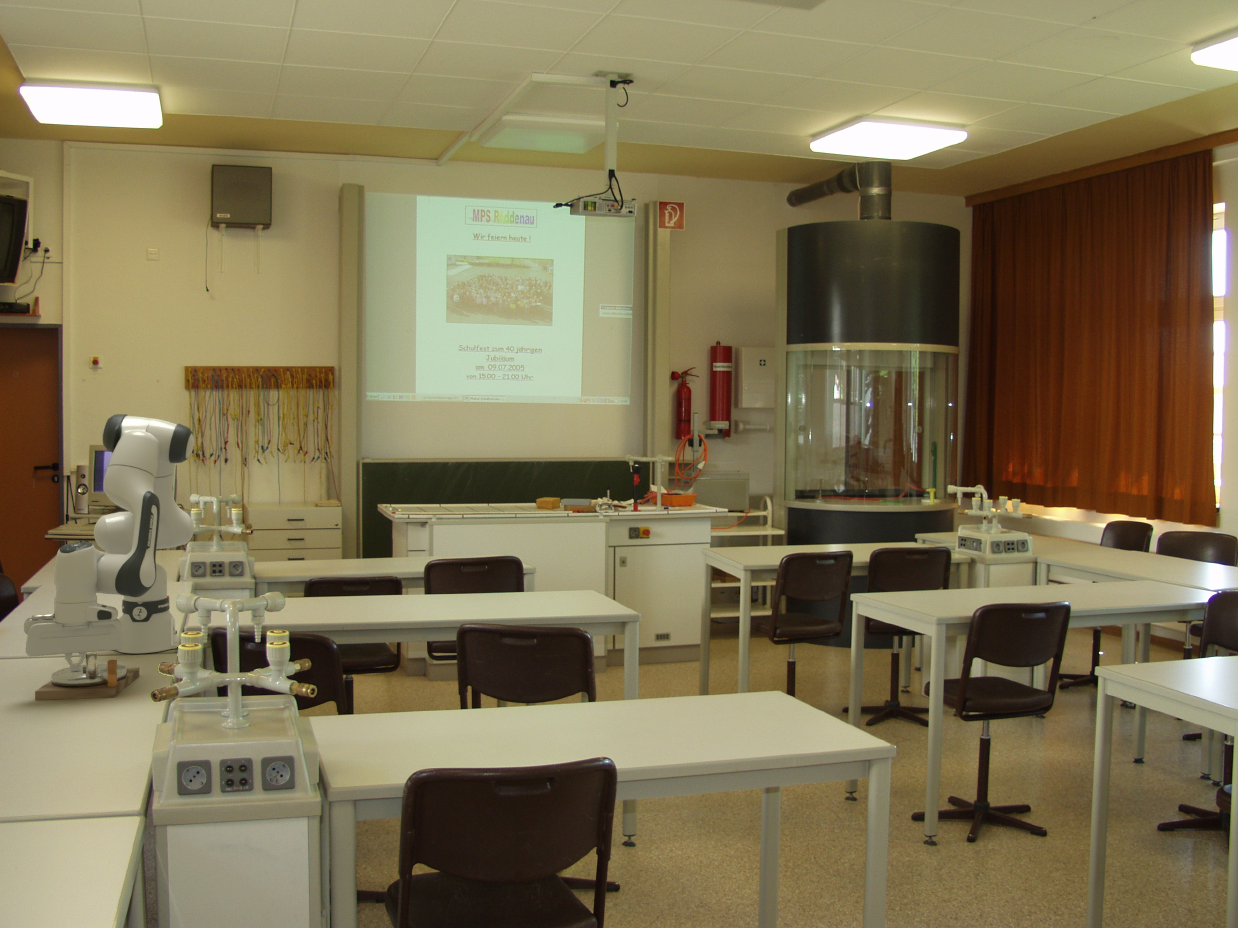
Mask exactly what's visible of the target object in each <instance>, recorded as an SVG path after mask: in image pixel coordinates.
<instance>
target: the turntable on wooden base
mask: <svg viewBox="0 0 1238 928" xmlns="http://www.w3.org/2000/svg"><path fill="white" fill-rule="evenodd" d="M106 664H108V683H105V684H99V685H91V686H76V687H70V686H59V685H55V684H53V683H52V679H51V680H50V681H48V682H47V683H45V684H44V685H42V686H41V687H40V688H38V689H36V690H35V691H34V700H35V701H41V700H42V701H44V700H66V699H67V700H71V699H72V700H73V699H102V698H115V697H116V696H118V695H119V694H120V693H122V691H123V690H125V689H126V688H127V687H128V686H129V685H131V684H132V683H133V682H134V681H135V680H136V679H137V678H138V677H140V675H141V674H140V667H126V668H127V675H126V676H125V677H124V678H122V679H120V680H117V664H118V660H117V659H109V660H108V661H107V663H106Z"/></svg>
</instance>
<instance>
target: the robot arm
mask: <svg viewBox="0 0 1238 928" xmlns="http://www.w3.org/2000/svg"><path fill="white" fill-rule="evenodd" d="M102 428H103V429H102V432H101V434H102V435H101V437H102V445H103V446H104V448H105V449H106V450H107V451H109V452H111V453H112V454H111V457H110V460H109V463H108V465H107V468H106V472H105V474H104V478H103V491H104V494H105V495H106V496H107V498H108V499H109V501H111V502H112V503H114V504H115V505H117V506H118V507H120V508H121V509H124V510H125V511H117V512H113V513H109V514H104V515H102V516H101V517H99V518H98V520H97V521H96V523H95V525H94V528H93V538H94V540H95V543H96V544H97V546H98V547H99V548H101V549H102V550H103V551H105V552H103V551H100V550H98V549H97V548H96V547H95V545H94V543H93V542H87V541H76V542H70V543H66V544H64V545H62V546H61V547H59V549H58V551H57V552H56V553H57V554H56V556H55V562H54V571H53V572H54V575H53V576H54V580H53V581H54V582H53V583H54V586H55V590H56V592H55V596H54V600H53V601H54V603H53V605H54V606H53V613H49V614H48V613H47V614H42V615H39V614H35V615H31V616H30V617H28V618H27V619H25V620H24V623H23V632H24V633H25V634H26V643H25V654H26V655H27V656H29V657H43V656H56V655H64V659H65V661H66V662H67V664H68V665H69V666H70V673H72V672H81V665H83V662H84V661H85V660H86V654H87V653H97V652H109V651H117V652H119V653H123V654H150V653H157V652H163V651H168V650H173V649H178V648H177V642H178V636H179V634H180V633H178V630H177V629H176V619H175V617H174V616H173V615H172V613H171V611H170V607H171V606H170V603H171V602H170V595H168V573H167V570H166V569H165V568H164V566H163V565H161V564H159V563H157V561H156V557H157V550H160V549H162V550H163V549H172V548H176V547H180V546H183V545H187V544H188V543H189V542H190V541H191V539H192V538H193V535H194V533H195V532H194V531H195V524H194V522H193V518H192V517H191V516H190V514H189V513H187V512H186V511H184V510H183V509H181V507H180V506H178V504H177V503H176V501H175V499H174V498H175V497H174V494H173V492H174V487H173V486H174V476H175V475H174V474H175V464H180V463H181V464H182V463H184V462H185V461H187V460H188V459H189V457H190V456H191V454H192V452H193V450H194V446H195V439H194V438H195V437H194V433H193V431H192V429H191V427H189V426H187V425H183V424H181V423H177V424H176V423H174V422H171V421H168V420H164V419H161V418H159V419H158V418H154V417H152V418H151V417H146V416H135V415H128V414H126V413H125V414H123V413H122V414H121V413H120V414H119V413H117V414H113V415H111V416H110V417H108V418H107V421H106V422H105V424H104V426H103V427H102ZM97 594H103V595H118V596H119V595H121V596H123V599H122V602H121V612H122V615H121V616H120V617H119V611H118V609H117V608H116V607H115V606H111V605H106V604H102V603H98V596H97ZM118 617H119V618H118ZM73 654H79V655H78V656H79V658H80V659H79V660H78V661H77V663H74V662H73V660H72V657H73Z"/></svg>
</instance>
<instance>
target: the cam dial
mask: <svg viewBox="0 0 1238 928" xmlns="http://www.w3.org/2000/svg"><path fill="white" fill-rule="evenodd" d="M98 661H99V660H98V653H97V652H87V653H86V658H85V664H81V672H72V673H70V667H66V668H65V667H64V668H61V669H58V670H56V671H54V672H52V674H51V680H52V683H53V684H55V685H59V686H70V687H76V686H91V685H99V684H105V683H108V664H107V663H98ZM127 668H128V667H127V666H126V665H122V664H119V663H117V680H120V679H122V678H124V677H125V676H126V675H127Z"/></svg>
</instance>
